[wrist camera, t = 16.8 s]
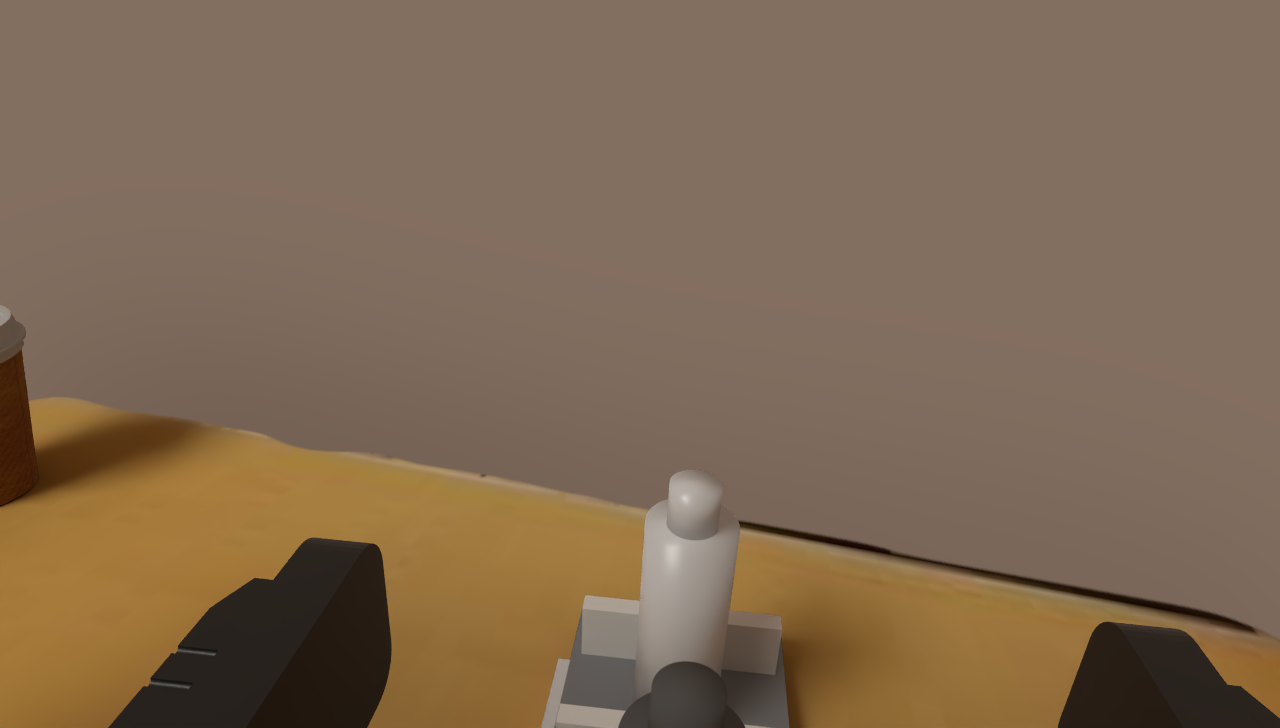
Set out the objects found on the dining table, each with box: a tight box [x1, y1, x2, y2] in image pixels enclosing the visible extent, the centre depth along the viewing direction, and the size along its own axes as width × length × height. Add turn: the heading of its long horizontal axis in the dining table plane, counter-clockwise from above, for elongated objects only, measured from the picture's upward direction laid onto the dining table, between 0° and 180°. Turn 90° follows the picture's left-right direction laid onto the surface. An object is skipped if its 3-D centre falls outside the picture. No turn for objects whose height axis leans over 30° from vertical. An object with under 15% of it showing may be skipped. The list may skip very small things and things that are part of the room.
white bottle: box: [633, 470, 740, 703], centre depth 36 cm, size 4×4×13 cm
